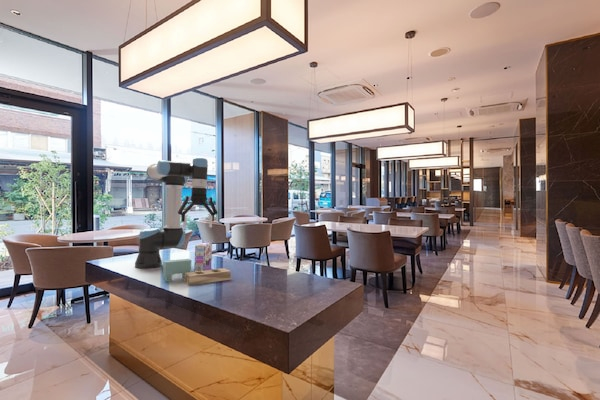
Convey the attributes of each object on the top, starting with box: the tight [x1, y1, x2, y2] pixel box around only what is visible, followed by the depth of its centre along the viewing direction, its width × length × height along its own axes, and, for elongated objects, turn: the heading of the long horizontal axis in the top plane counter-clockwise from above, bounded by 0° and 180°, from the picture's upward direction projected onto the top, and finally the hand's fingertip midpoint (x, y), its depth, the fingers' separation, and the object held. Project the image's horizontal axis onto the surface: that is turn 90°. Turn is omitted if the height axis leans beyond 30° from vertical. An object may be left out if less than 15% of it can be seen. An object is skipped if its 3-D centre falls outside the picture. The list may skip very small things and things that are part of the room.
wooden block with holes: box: [183, 267, 232, 286], centre depth 158 cm, size 9×22×4 cm, turn 128°
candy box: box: [193, 242, 213, 272], centre depth 178 cm, size 14×6×16 cm, turn 179°
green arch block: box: [162, 258, 192, 282], centre depth 158 cm, size 4×13×10 cm, turn 128°
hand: (197, 227), depth 156 cm, fingers open, 13 cm apart
